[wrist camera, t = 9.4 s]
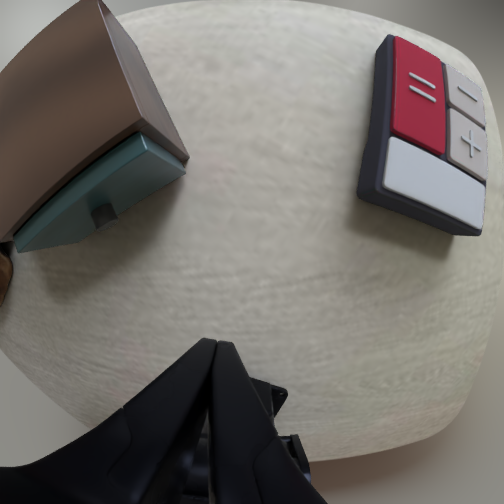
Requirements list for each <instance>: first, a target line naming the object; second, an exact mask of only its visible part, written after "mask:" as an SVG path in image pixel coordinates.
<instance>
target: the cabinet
mask: <svg viewBox="0 0 504 504" xmlns="http://www.w3.org/2000/svg"><path fill="white" fill-rule="evenodd" d="M135 131H136V132H142V133H143V134H144V135H146V136H147V137H149V138H150V139H151V140H153V141H154V142H156V143H157V144H158V145H160V146H161V147H163V148H164V149H165V150H167V151H168V152H170V153H171V154H172V155H174V156H175V157H176V158H178V159H179V160H180V161H181V163H182V162H183V161H185V160H187V159H189V158H190V157H189V155H188V153H187V151H186V149H185V147H184V144H183V142H182V140H181V138H180V136H179V134H178V132H177V130H176V128H175V126H174V124H173V122H172V120H171V118H170V116H169V113H168V111H167V109H166V107H165V105H164V103H163V101H162V99H161V97H160V95H159V93H158V90H157V88H156V86H155V84H154V82H153V80H152V78H151V76H150V73H149V71H148V69H147V67H146V65H145V63H144V61H143V59H142V56H141V54H140V52H139V50H138V48H137V46H136V44H135V43H134V42H133V40H132V39H131V38H130V36H129V35H128V34H127V32H126V31H125V30H124V28H123V27H122V26H121V24H120V23H119V22H118V21H117V19H116V18H115V17H114V15H113V14H112V13H111V11H110V10H109V9H108V8H107V6H106V5H105V4H104V3H103V1H102V0H80V1H79V2H77V3H76V4H74V5H73V6H72V7H70V8H69V9H68V10H67V11H65V12H64V13H62V14H61V15H60V16H59V17H57V18H56V19H55V20H54V21H52V22H51V23H50V24H49V25H48V26H47V27H45V28H44V29H43V30H42V31H41V32H40V33H39V34H37V35H36V36H35V37H34V38H33V39H32V40H31V41H30V42H29V43H28V44H27V45H26V46H25V47H24V48H23V49H22V50H21V51H20V52H19V53H18V54H17V55H16V56H15V57H14V58H13V59H12V60H11V61H10V62H9V63H8V65H7V66H6V67H5V68H4V69H3V70H2V71H1V73H0V242H7V241H13V237H14V236H15V234H16V233H17V232H18V231H19V230H20V229H21V228H22V227H23V226H24V225H25V224H26V223H27V222H28V221H29V220H30V219H31V218H32V217H33V216H34V215H35V214H36V213H34V212H35V211H36V210H37V209H38V208H39V207H40V206H41V205H42V204H43V203H44V202H45V201H46V200H48V199H49V198H50V197H51V196H52V195H53V194H54V193H55V192H56V191H57V190H59V189H60V188H61V187H62V186H63V185H64V184H65V183H67V182H68V181H69V180H70V179H71V178H72V177H74V176H75V175H76V174H77V173H78V172H80V171H81V170H82V169H83V168H85V167H86V166H87V165H89V164H90V163H91V162H92V161H94V160H95V159H96V158H98V157H99V156H100V155H102V154H103V153H104V152H106V151H107V150H109V149H110V148H111V147H113V146H114V145H116V144H117V143H118V142H120V141H121V140H123V139H124V138H126V137H127V136H129V135H130V134H132V133H133V132H135Z"/></svg>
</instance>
